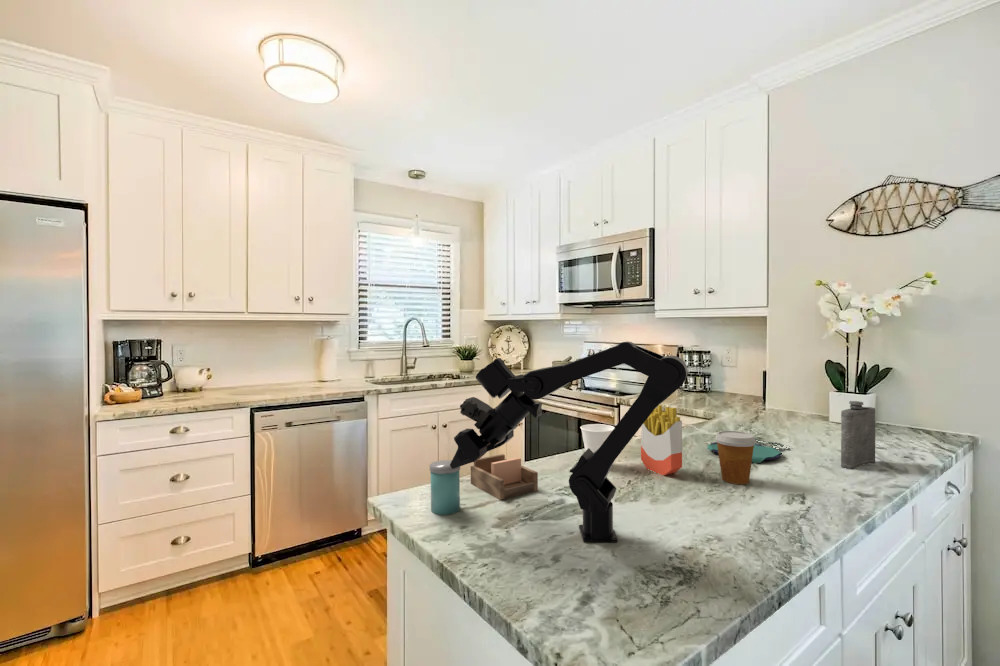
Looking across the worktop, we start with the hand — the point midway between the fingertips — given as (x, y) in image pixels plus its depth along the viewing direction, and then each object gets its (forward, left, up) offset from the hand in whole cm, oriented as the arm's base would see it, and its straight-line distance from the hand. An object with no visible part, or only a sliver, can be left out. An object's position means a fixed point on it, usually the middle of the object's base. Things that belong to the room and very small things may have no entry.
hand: (461, 461), depth 103 cm
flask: (+35, -109, -11) cm, 115 cm away
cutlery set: (+49, -87, -12) cm, 100 cm away
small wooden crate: (+17, -8, -11) cm, 22 cm away
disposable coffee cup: (+21, -69, -11) cm, 73 cm away
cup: (+34, -36, -11) cm, 50 cm away
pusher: (+15, -9, -10) cm, 20 cm away
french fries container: (+28, -52, -11) cm, 60 cm away
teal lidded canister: (+2, +4, -11) cm, 12 cm away
